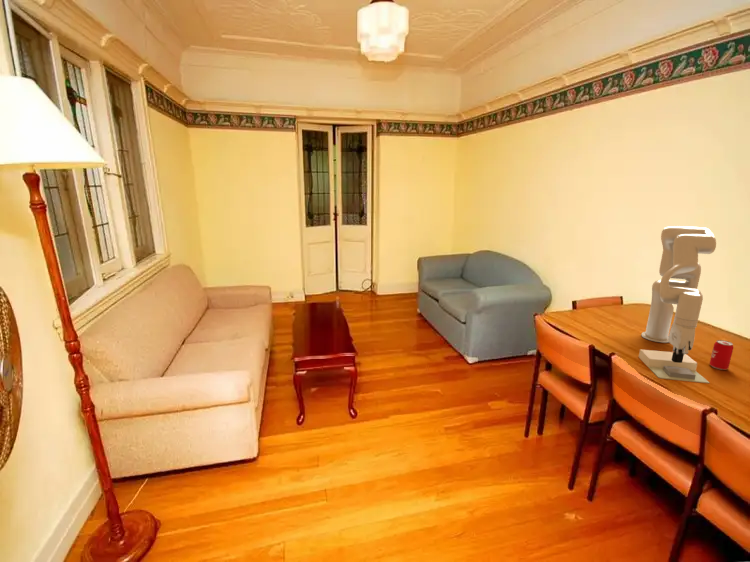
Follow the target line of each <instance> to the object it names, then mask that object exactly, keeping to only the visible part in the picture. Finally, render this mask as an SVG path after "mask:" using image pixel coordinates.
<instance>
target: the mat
mask: <svg viewBox="0 0 750 562" xmlns="http://www.w3.org/2000/svg"><path fill="white" fill-rule="evenodd" d="M647 367H648V366H647ZM648 369H649V370H650V371H651V372H652V373H653V374H654V375H655V376H656V377H657V378H658V379H665V380H673V381H683V382H692V383H693V382H694V383H703V384H710V382H709V381H708V380H707V379H706V378H705V377H704V376H702V375H701V374H700V373H699V372H697V370H696V371H692V372H693V373H694V374H695V375H696V376H695V379H685V378H676V377H669V376H668V375H667V374H666V373H665V372H664V371H663V368H657V367H648Z"/></svg>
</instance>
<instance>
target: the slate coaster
mask: <svg viewBox="0 0 750 562" xmlns="http://www.w3.org/2000/svg"><path fill="white" fill-rule="evenodd" d="M663 371H664V372H665V373H666V374H667V375H668V376H669V377H676V378H685V379H695V376H696V375H695V374H694V373H693V372H692V371H690V370H689V369H688V368H679V367H669V366H664V367H663Z"/></svg>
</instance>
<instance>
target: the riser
mask: <svg viewBox="0 0 750 562" xmlns="http://www.w3.org/2000/svg"><path fill="white" fill-rule="evenodd" d="M672 355H673V351H662V350H661V351H660V350H653V349H652V350H650V349H639V354H638V358H639V359H640V361H642V363H644V365H646V367H657V368H663V367H664V366H669V367H679V368H688V369H689V370H690V371H696V372H697V367H698V362H697V361H695V360H694V359H692V357H690V356H689V355H688V354H685V355H684V356H683V360H682V363H678V362H673V361H672Z"/></svg>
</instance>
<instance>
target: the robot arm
mask: <svg viewBox="0 0 750 562" xmlns="http://www.w3.org/2000/svg"><path fill="white" fill-rule="evenodd" d="M660 241H661V244H662V245H661V246H662V255H661V259H660V263H659V264H660V265H659V275H660V276H661V279H658V280H655V281H654V282H653V283H652V285H651V303H650V307H649V308H650V309H649V312H648V313H649V314H648V319H647V323H646V326H645V331H643V332H642V333H641V337H642V338H643V339H645V340H648V341H651V342H655V343H663V344H667V343H669V344H670V345H672V347H673V348H672V352H673V355H672V361H673V362H678V363H682V360H683V356H684V355H685V354H686V355H688V354H689V351H692V349H693V347H694V342H695V337H696V328H697V325H698V322H699V318H700V312H701V308H702V304H703V301H704V300H703V299H704V298H703V293H702V292H701V290H699V289H698V287H699V282H700V277H701V274H702V273H701V272H702V267H701V263H699V254H702V255H703V254H704V255H710V254H713V253H714V252H715V250H716V248H717V239H716V237H715V235H714V233H713V232H712V231H711V230H710V229H709V228H707V227H699V226H684V225H683V226H680V225H679V226H678V225H677V226H675V225H674V226H666V227H664V228H663V229H662V230H661V234H660ZM671 279H677V280H671ZM681 280H684V281H681ZM674 305H676V309H674V308H675V307H674ZM674 311H675V312H674ZM674 313H675V315H674ZM673 315H674V316H673ZM673 317H674V319H673ZM672 320H673V322H672ZM671 323H672V324H671Z"/></svg>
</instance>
